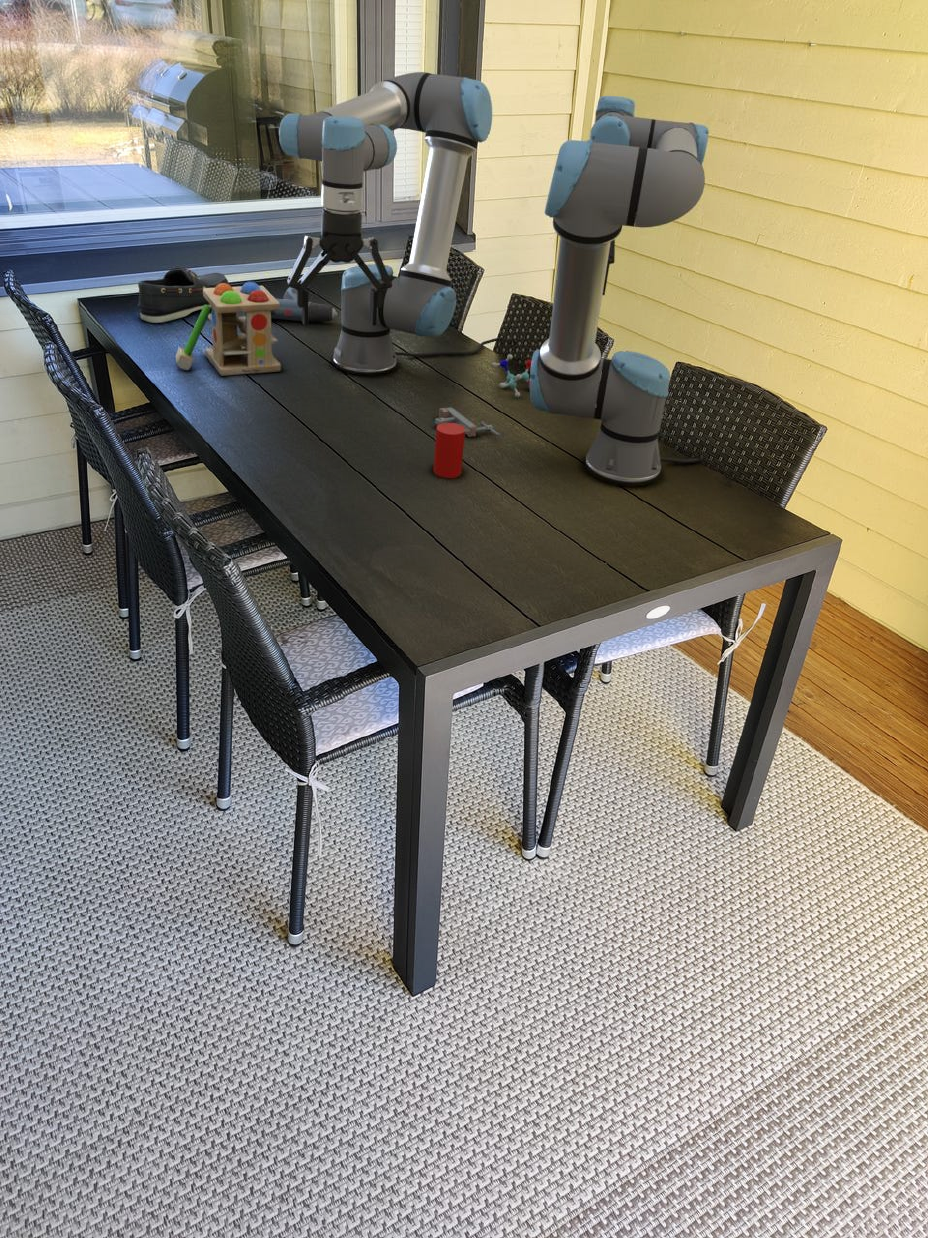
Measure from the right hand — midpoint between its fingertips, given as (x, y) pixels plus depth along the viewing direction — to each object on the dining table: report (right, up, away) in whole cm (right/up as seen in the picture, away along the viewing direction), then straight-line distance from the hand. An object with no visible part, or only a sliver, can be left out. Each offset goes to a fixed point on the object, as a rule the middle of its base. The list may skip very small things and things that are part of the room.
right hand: (588, 285), depth 214 cm
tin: (-31, -44, -21) cm, 58 cm away
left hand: (-52, -14, -20) cm, 58 cm away
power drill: (-70, +10, +53) cm, 89 cm away
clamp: (-27, -32, -4) cm, 43 cm away
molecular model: (-16, -19, +18) cm, 30 cm away
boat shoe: (-102, +11, +48) cm, 113 cm away
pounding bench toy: (-83, -13, +16) cm, 86 cm away
